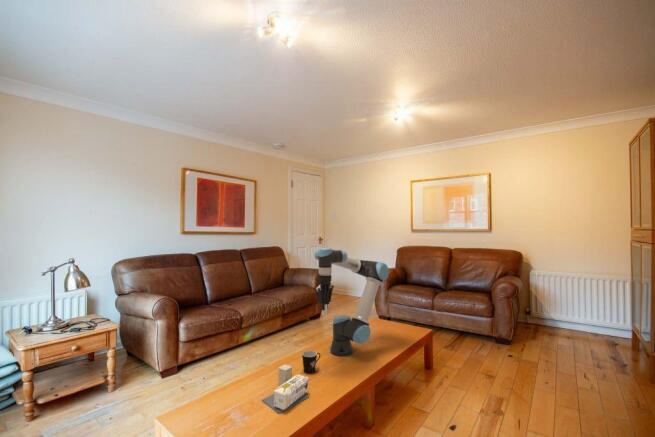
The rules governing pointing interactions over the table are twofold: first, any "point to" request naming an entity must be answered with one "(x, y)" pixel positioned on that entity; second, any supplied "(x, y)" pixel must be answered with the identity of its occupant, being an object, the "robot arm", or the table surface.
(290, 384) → the juice carton
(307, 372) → the coffee mug
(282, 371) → the sandstone block
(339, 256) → the robot arm
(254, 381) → the table surface
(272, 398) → the mat
